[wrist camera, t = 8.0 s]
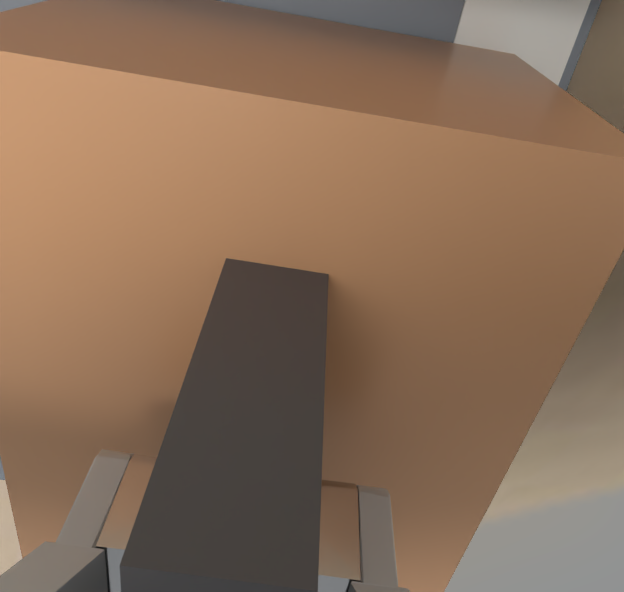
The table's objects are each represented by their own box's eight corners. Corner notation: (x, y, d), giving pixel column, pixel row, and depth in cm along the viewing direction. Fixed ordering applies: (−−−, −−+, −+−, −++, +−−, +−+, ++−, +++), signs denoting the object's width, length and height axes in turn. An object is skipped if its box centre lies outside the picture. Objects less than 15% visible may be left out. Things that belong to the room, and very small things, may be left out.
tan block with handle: (514, 53, 14) (1068, 456, 3) (400, 397, 21) (465, 911, 10) (118, -17, 14) (-711, 187, 3) (128, 357, 20) (-115, 852, 9)
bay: (631, -103, 13) (732, -113, 10) (419, 449, 24) (432, 537, 20) (-525, -330, 12) (-874, -434, 9) (-210, 359, 22) (-309, 437, 19)
